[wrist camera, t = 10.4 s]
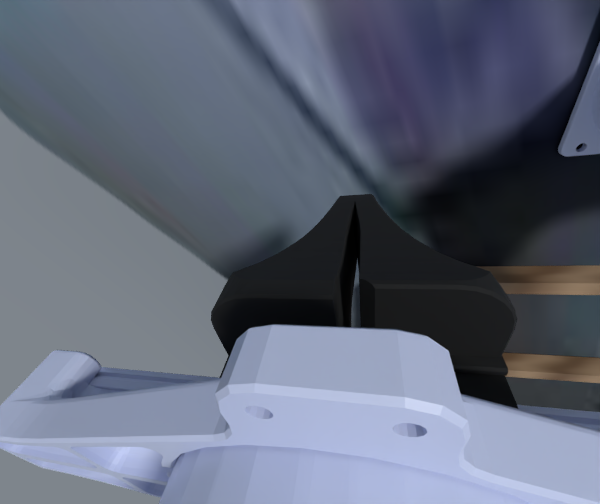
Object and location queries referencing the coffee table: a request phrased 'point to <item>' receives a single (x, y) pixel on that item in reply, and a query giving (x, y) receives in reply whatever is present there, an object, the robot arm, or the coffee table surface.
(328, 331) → the robot arm
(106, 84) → the coffee table surface
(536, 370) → the track
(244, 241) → the coffee table surface
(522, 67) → the coffee table surface
